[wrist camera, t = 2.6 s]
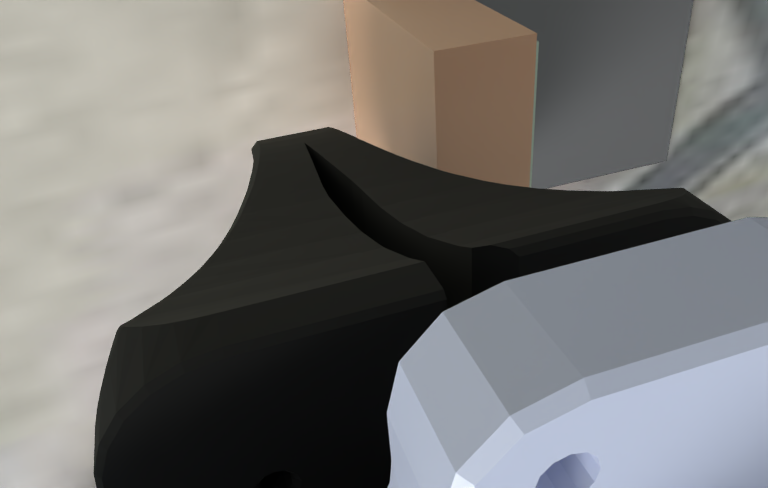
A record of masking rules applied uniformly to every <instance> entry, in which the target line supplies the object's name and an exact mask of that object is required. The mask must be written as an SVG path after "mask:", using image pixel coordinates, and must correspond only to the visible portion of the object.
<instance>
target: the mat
mask: <svg viewBox="0 0 768 488" xmlns="http://www.w3.org/2000/svg"><path fill="white" fill-rule="evenodd" d="M475 1H477V2H479V3H481V4H483V5H485V6H487V7H489V8H491V9H492V10H494V11H496V12H498V13H500V14H502V15H504V16H506V17H507V18H509V19H511V20H513V21H515V22H517V23H519V24H521V25H523V26H524V27H526V28H528V29H530V30H532V31H534V32H536V33H537V41H539V51H538V70H537V89H536V108H535V127H534V146H533V165H532V185H531V188H538V189H546V188H550V187H555V186H559V185H563V184H568V183H572V182H576V181H581V180H585V179H590V178H594V177H598V176H603V175H607V174H611V173H616V172H620V171H624V170H629V169H633V168H637V167H642V166H646V165H650V164H655V163H659V162H663V161H667V156H668V150H669V144H670V138H671V132H672V126H673V120H674V114H675V108H676V102H677V96H678V90H679V84H680V78H681V72H682V66H683V60H684V54H685V48H686V42H687V36H688V30H689V24H690V18H691V12H692V6H693V1H694V0H475Z"/></svg>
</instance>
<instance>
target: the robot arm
mask: <svg viewBox="0 0 768 488" xmlns="http://www.w3.org/2000/svg"><path fill="white" fill-rule="evenodd" d="M252 154H253V160H254V163H253V170H252V174H251V178H250V182H249V186H248V189H247V192H246V195H245V198H244V200H243V203H242V205H241V207H240V210H239V212H238V215H237V217H236V219H235V221H234V223H233V225H232V226H231V228H230V230H229V232H228V233H227V235H226V237H225V238H224V240H223V241H222V243H221V244H220V246H219V247H218V248H217V250H216V251H215V252H214V253H213V255H212V256H211V257H210V258H209V259H208V260H207V262H206V263H205V264H204V265H203V266H202V267H201V268H200V269H199V270H198V271H197V272H196V273H195V274H194V275H193V276H192V277H190V278H189V279H188V280H187V281H186V282H185V283H184V284H182V285H181V286H180V287H179V288H177V289H176V290H175V291H174V292H172V293H171V294H170V295H168V296H167V297H166V298H164V299H163V300H161V301H160V302H158V303H157V304H155V305H154V306H152V307H150V308H149V309H147V310H146V311H144V312H143V313H141V314H139V315H138V316H136V317H135V318H133V319H131V320H130V321H128V322H126V323H124V324H123V325H121V326H120V327H119V328H118V330H117V332H116V335H115V338H114V341H113V345H112V348H111V351H110V355H109V358H108V362H107V365H106V369H105V374H104V378H103V383H102V387H101V391H100V396H99V402H98V407H97V415H96V424H95V449H94V478H95V482H96V486H97V488H768V217H747V218H743V219H739V220H735V221H731V220H729V219H728V218H726V217H725V216H723V215H722V214H720V213H719V212H717V211H716V210H715V209H713V208H712V207H710V206H709V205H707V204H706V203H704V202H703V201H701V200H700V199H699V198H697V197H696V196H694V195H693V194H691V193H690V192H688V191H687V190H685V189H684V188H670V189H651V190H631V191H566V190H552V189H538V188H530V187H522V186H514V185H506V184H500V183H494V182H488V181H483V180H479V179H474V178H470V177H465V176H461V175H457V174H453V173H449V172H445V171H442V170H438V169H435V168H432V167H429V166H426V165H423V164H420V163H417V162H414V161H411V160H409V159H406V158H404V157H401V156H398V155H396V154H393V153H391V152H388V151H386V150H384V149H381V148H379V147H377V146H374V145H372V144H370V143H367V142H365V141H363V140H361V139H358V138H356V137H354V136H351V135H349V134H347V133H344V132H342V131H340V130H337V129H334V128H330V127H327V128H322V129H317V130H312V131H307V132H301V133H296V134H291V135H286V136H281V137H276V138H271V139H266V140H261V141H257V142H256V143H255V145H254V146H253V148H252Z"/></svg>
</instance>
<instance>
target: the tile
mask: <svg viewBox="0 0 768 488" xmlns="http://www.w3.org/2000/svg"><path fill="white" fill-rule="evenodd" d="M343 3H344V13H345V23H346V33H347V44H348V54H349V64H350V74H351V84H352V94H353V105H354V115H355V125H356V135H357V138H358V139H361V140H363V141H365V142H367V143H370V144H372V145H374V146H377V147H379V148H381V149H384V150H386V151H388V152H391V153H393V154H396V155H398V156H401V157H404V158H406V159H409V160H411V161H414V162H417V163H420V164H423V165H426V166H429V167H432V168H435V169H438V170H442V171H445V172H449V173H453V174H457V175H461V176H465V177H470V178H474V179H479V180H483V181H488V182H494V183H500V184H506V185H514V186H522V187H530V188H531V185H532V165H533V146H534V127H535V108H536V89H537V70H538V51H539V41H537V33H536V32H534V31H532V30H530V29H528V28H526V27H524V26H523V25H521V24H519V23H517V22H515V21H513V20H511V19H509V18H507V17H506V16H504V15H502V14H500V13H498V12H496V11H494V10H492V9H491V8H489V7H487V6H485V5H483V4H481V3H479V2H477V1H475V0H343Z"/></svg>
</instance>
